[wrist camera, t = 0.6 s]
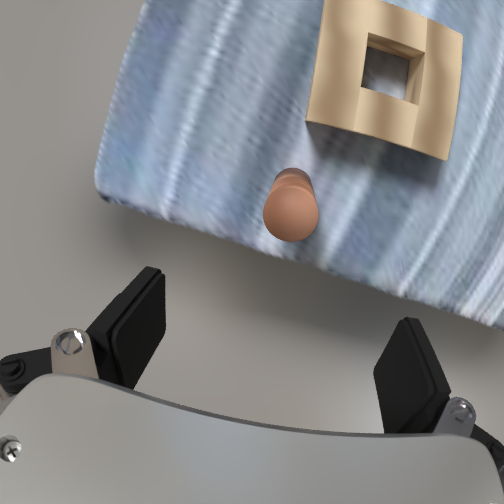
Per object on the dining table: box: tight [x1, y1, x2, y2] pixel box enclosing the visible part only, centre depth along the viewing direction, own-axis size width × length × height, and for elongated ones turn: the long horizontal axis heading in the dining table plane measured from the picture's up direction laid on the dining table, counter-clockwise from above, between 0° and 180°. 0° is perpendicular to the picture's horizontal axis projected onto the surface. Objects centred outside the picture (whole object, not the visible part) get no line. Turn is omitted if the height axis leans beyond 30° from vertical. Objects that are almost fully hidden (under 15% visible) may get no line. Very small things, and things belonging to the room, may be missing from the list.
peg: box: [263, 168, 319, 242], centre depth 29 cm, size 4×4×12 cm
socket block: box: [305, 0, 463, 161], centre depth 25 cm, size 16×16×5 cm
